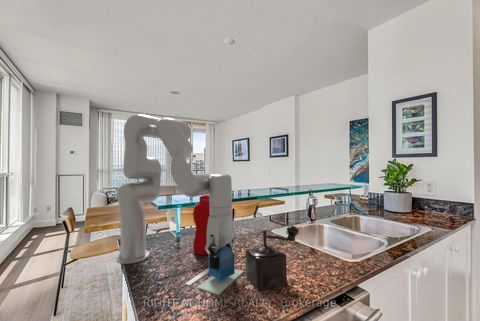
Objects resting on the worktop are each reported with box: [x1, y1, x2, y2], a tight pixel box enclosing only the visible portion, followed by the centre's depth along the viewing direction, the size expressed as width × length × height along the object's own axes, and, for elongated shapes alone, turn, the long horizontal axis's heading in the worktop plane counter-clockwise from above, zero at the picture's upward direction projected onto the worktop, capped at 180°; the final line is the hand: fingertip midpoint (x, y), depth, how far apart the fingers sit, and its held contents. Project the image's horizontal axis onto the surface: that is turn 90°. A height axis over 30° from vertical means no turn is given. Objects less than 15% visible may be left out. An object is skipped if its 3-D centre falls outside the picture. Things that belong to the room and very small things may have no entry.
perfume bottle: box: [207, 245, 236, 280], centre depth 76 cm, size 6×6×12 cm
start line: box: [184, 267, 209, 287], centre depth 80 cm, size 2×16×1 cm, turn 151°
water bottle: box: [192, 194, 216, 256], centre depth 101 cm, size 9×11×25 cm
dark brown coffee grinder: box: [245, 225, 300, 292], centre depth 76 cm, size 16×11×18 cm
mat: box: [196, 268, 245, 296], centre depth 76 cm, size 8×16×1 cm, turn 151°
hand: (221, 263), depth 76 cm, fingers closed on perfume bottle, 7 cm apart
